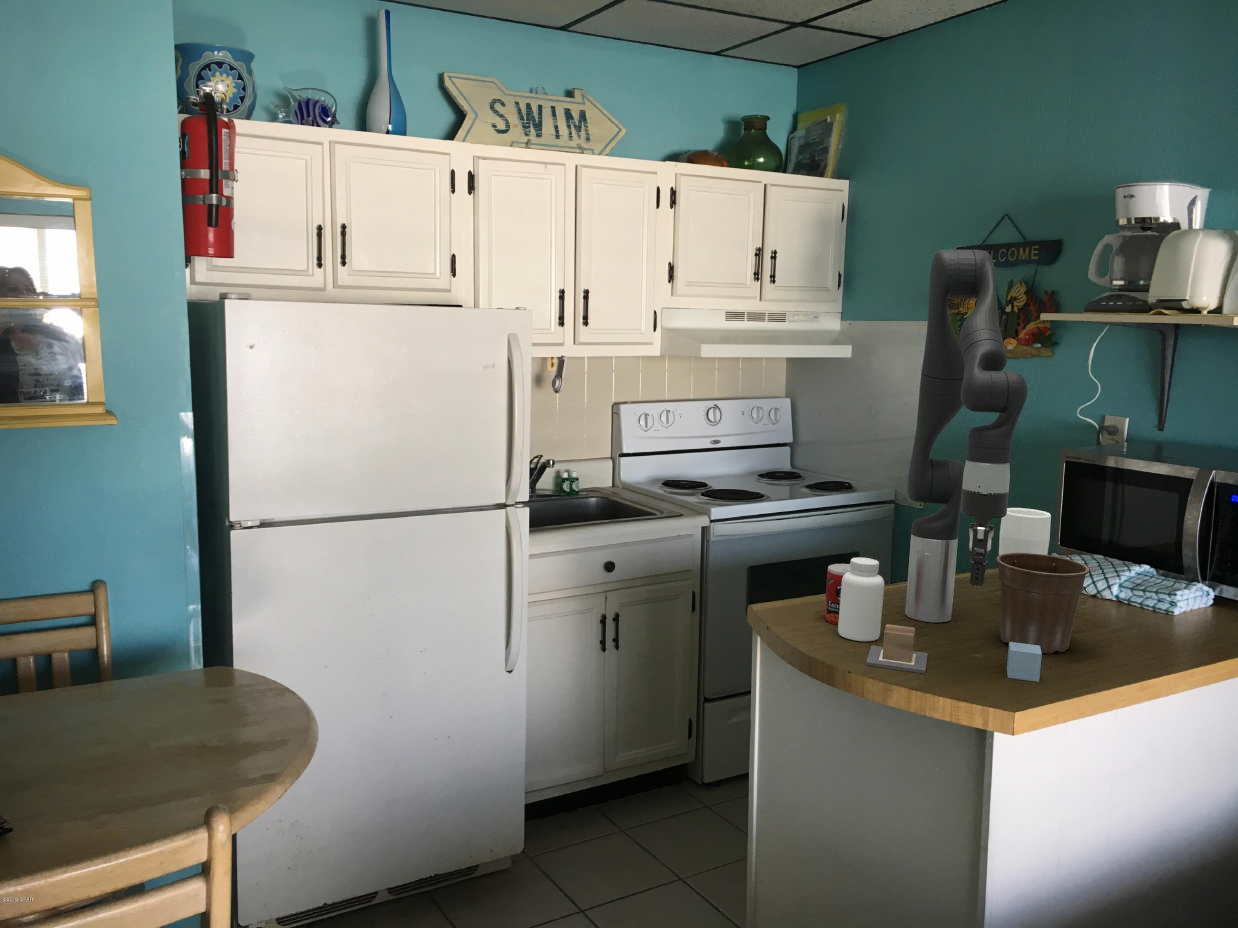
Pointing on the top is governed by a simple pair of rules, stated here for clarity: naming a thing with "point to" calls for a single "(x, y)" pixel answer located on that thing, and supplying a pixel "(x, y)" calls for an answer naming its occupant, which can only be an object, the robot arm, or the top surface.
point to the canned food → (834, 591)
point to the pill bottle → (861, 601)
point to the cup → (1025, 531)
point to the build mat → (916, 665)
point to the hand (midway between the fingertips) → (977, 579)
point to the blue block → (1024, 661)
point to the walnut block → (898, 643)
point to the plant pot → (1039, 599)
